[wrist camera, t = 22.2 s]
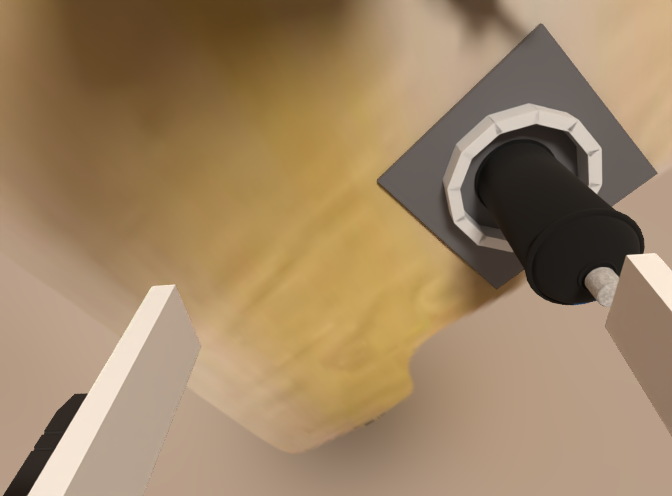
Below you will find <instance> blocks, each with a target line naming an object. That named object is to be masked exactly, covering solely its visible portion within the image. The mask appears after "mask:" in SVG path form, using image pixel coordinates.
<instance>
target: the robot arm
mask: <svg viewBox="0 0 672 496" xmlns="http://www.w3.org/2000/svg"><path fill="white" fill-rule="evenodd" d="M605 327H606V329H607V331H608V332H609V334H610V336H611V337H612V339H613V341H614V342H615V344H616V346H617V347H618V349H619V350H620V352H621V354H622V355H623V357H624V359H625V360H626V362H627V364H628V365H629V367H630V368H631V370H632V372H633V373H634V375H635V377H636V378H637V380H638V382H639V383H640V385H641V387H642V388H643V390H644V392H645V393H646V395H647V396H648V398H649V400H650V401H651V403H652V405H653V406H654V408H655V410H656V411H657V413H658V415H659V416H660V418H661V420H662V421H663V423H664V424H665V426H666V428H667V429H668V431H669V433H670V434H671V436H672V271H671V270H670V268H669V267H668V266H667V265H666V264H665V263H664V262H663V261H662V260H661V258H660V257H659V256H658V255H657V254H656V253H651V254H636V255H626V258H625V261H624V264H623V268H622V271H621V274H620V278H619V281H618V284H617V287H616V291H615V294H614V297H613V301H612V304H611V307H610V311H609V314H608V317H607V321H606V324H605ZM200 348H201V344H200V342H199V340H198V337H197V335H196V332H195V330H194V328H193V325H192V323H191V321H190V318H189V316H188V313H187V311H186V309H185V306H184V304H183V301H182V299H181V297H180V294H179V292H178V290H177V287H176V285H161V286H152V287H151V289H150V290H149V292H148V294H147V295H146V297H145V299H144V300H143V302H142V304H141V305H140V307H139V309H138V310H137V312H136V314H135V315H134V317H133V319H132V321H131V322H130V324H129V326H128V327H127V329H126V331H125V332H124V334H123V336H122V337H121V339H120V341H119V342H118V344H117V346H116V347H115V349H114V351H113V353H112V354H111V356H110V358H109V360H108V361H107V363H106V364H105V366H104V368H103V369H102V371H101V373H100V375H99V376H98V378H97V380H96V382H95V383H94V385H93V387H92V388H91V390H90V391H89V393H88V394H74V395H73V396H72V397H71V398H70V399H69V400H68V401H67V402H66V403H65V404H64V405H63V406H62V407H61V408H60V409H59V410H58V411H57V412H56V413H55V415H54V417H53V418H52V420H51V421H50V423H49V424H48V426H47V427H46V429H45V433H44V435H41V437H40V439H39V440H38V442H37V443H36V445H35V446H34V451H31V453H30V454H29V456H28V457H27V459H26V460H25V462H24V464H23V465H22V467H21V468H20V470H19V471H18V473H17V475H16V476H15V478H14V479H13V481H12V482H11V484H10V486H9V487H8V489H7V490H6V492H5V493H4V495H3V496H143V495H144V492H145V489H146V487H147V484H148V481H149V479H150V476H151V474H152V471H153V469H154V466H155V463H156V461H157V458H158V456H159V453H160V451H161V448H162V446H163V443H164V441H165V438H166V436H167V433H168V430H169V427H170V425H171V423H172V420H173V417H174V415H175V412H176V410H177V407H178V405H179V402H180V400H181V397H182V394H183V392H184V389H185V387H186V384H187V382H188V379H189V376H190V374H191V371H192V369H193V366H194V364H195V361H196V359H197V356H198V353H199V351H200Z"/></svg>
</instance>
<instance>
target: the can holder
mask: <svg viewBox="0 0 672 496" xmlns="http://www.w3.org/2000/svg"><path fill="white" fill-rule="evenodd" d="M518 139H530V140H534V141H538V142H540V143H542V144H544V145H545V146H547V147H548V148H549V149H550V150H551V152H552V153H553V154H554V156H555V158H556V159H557V160H558V161H559V162H561V163H562V164H563V165H564V166H565V167H566V168H567V169H569V170H570V171H571V172H572V173H573V174H574V175H575V176H577V177H578V178H579V179H580V180H581V181H582V182H584V183H585V184H586V185H587V186H588V187H589V188H590V189H592V190H593V191H594V192H595V193H596V194H597V195H598V196H600V197H601V198H602V199H603V200H604V201H605V202H607V203H608V204H609V205H610V206H611V207H612V206H613V205H614V204H616V203H617V202H619V201H620V200H621V199H623V198H624V197H626V196H627V195H628V194H630V193H631V192H633V191H634V190H635V189H637V188H638V187H639V186H641V185H642V184H644V183H645V182H646V181H648V180H649V179H651V178H652V177H653V176H655V175H656V174H658V173H657V172H656V170H655V169H654V168H653V167H652V165H651V164H650V163H649V161H648V160H647V159H646V157H645V156H644V155H643V154H642V152H641V151H640V150H639V148H638V147H637V146H636V144H635V143H634V142H633V141H632V139H631V138H630V137H629V135H628V134H627V133H626V131H625V130H624V129H623V128H622V126H621V125H620V124H619V122H618V121H617V120H616V119H615V117H614V116H613V115H612V113H611V112H610V111H609V109H608V108H607V107H606V106H605V104H604V103H603V102H602V100H601V99H600V98H599V96H598V95H597V94H596V93H595V91H594V90H593V89H592V87H591V86H590V85H589V83H588V82H587V81H586V80H585V78H584V77H583V76H582V74H581V73H580V72H579V71H578V69H577V68H576V67H575V65H574V64H573V63H572V61H571V60H570V59H569V58H568V56H567V55H566V54H565V52H564V51H563V50H562V48H561V47H560V46H559V45H558V43H557V42H556V41H555V39H554V38H553V37H552V36H551V34H550V33H549V32H548V30H547V29H546V28H545V26H544V25H543V24H539V25H538V26H537V27H536V28H535V29H534V30H533V31H532V32H531V33H530V34H529V35H528V36H527V37H526V38H524V39H523V40H522V41H521V42H520V43H519V44H518V45H517V46H516V47H515V48H514V49H513V50H512V51H511V52H510V53H509V54H508V55H507V56H506V57H505V58H504V59H503V60H501V61H500V62H499V63H498V64H497V65H496V66H495V67H494V68H493V69H492V70H491V71H490V72H489V73H488V74H487V75H486V76H485V77H484V78H483V79H482V80H481V81H480V82H479V83H477V84H476V85H475V86H474V87H473V88H472V89H471V90H470V91H469V92H468V93H467V94H466V95H465V96H464V97H463V98H462V99H461V100H460V101H459V102H458V103H457V104H456V105H454V106H453V107H452V108H451V109H450V110H449V111H448V112H447V113H446V114H445V115H444V116H443V117H442V118H441V119H440V120H439V121H438V122H437V123H436V124H435V125H434V126H433V127H432V128H430V129H429V130H428V131H427V132H426V133H425V134H424V135H423V136H422V137H421V138H420V139H419V140H418V141H417V142H416V143H415V144H414V145H413V146H412V147H411V148H410V149H409V150H407V151H406V152H405V153H404V154H403V155H402V156H401V157H400V158H399V159H398V160H397V161H396V162H395V163H394V164H393V165H392V166H391V167H390V168H389V169H388V170H387V171H386V172H385V173H383V174H382V175H381V176H380V177H379V178H378V179H377V181H378V182H379V183H380V184H381V185H382V186H383V187H384V188H385V189H386V190H387V191H389V192H390V193H391V194H392V195H393V196H394V197H395V198H396V199H397V200H398V201H400V202H401V203H402V204H403V205H404V206H405V207H406V208H407V209H408V210H409V211H411V212H412V213H413V214H414V215H415V216H416V217H417V218H418V219H419V220H421V221H422V222H423V223H424V224H425V225H426V226H427V227H428V228H429V229H430V230H432V231H433V232H434V233H435V234H436V235H437V236H438V237H439V238H440V239H441V240H443V241H444V242H445V243H446V244H447V245H448V246H449V247H450V248H451V249H452V250H454V251H455V252H456V253H457V254H458V255H459V256H460V257H461V258H462V259H463V260H465V261H466V262H467V263H468V264H469V265H470V266H471V267H472V268H473V269H475V270H476V271H477V272H478V273H479V274H480V275H481V276H482V277H483V278H484V279H486V280H487V281H488V282H489V283H490V284H491V285H492V286H493V287H494V288H495V289H498V288H499V287H501V286H502V285H503V284H505V283H506V282H508V281H509V280H510V279H512V278H513V277H514V276H516V275H517V274H519V273H520V272H521V271H523V270H524V268H523V266H522V265H521V263H520V261H519V260H518V258H517V256H516V255H515V253H514V252H513V250H512V248H511V247H510V245H509V243H508V242H507V240H506V238H505V237H504V235H503V233H502V232H501V230H500V228H499V227H498V225H497V223H496V222H495V220H494V218H493V217H492V215H491V214H490V212H489V210H488V209H487V208H486V207H485V206H484V205H483V204H482V203H481V202H480V200H479V199H478V197H477V194H476V190H475V178H476V173H477V171H478V168H479V166H480V164H481V163H482V161H483V159H484V158H485V157H486V156H487V155H488V154H489V153H490V152H491V151H493V150H494V149H495V148H496V147H498V146H500V145H502V144H504V143H506V142H509V141H512V140H518Z"/></svg>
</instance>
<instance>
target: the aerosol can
mask: <svg viewBox="0 0 672 496" xmlns="http://www.w3.org/2000/svg"><path fill="white" fill-rule="evenodd" d="M475 190H476V194H477V197H478V199H479V200H480V202H481V203H482V204H483V205H484V206H485V207H486V208H487V209H488V210H489V212H490V214H491V215H492V217H493V218H494V220H495V222H496V223H497V225H498V227H499V228H500V230H501V232H502V233H503V235H504V237H505V238H506V240H507V242H508V243H509V245H510V247H511V248H512V250H513V252H514V253H515V255H516V256H517V258H518V260H519V261H520V263H521V265H522V266H523V268H524V270H525V273H526V277H527V281H528V283H529V284H530V287H531V288H532V289H533V290H534V291H535V293H536V294H538V295H539V296H541V297H542V298H543V299H545V300H548V301H550V302H552V303H557V304H562V305H579V304H585V303H589V302H593V301H598V302H599V304H600V305H602V306H605V307H611V304H612V301H613V297H614V294H615V291H616V287H617V284H618V281H619V278H620V274H621V271H622V268H623V264H624V261H625V258H626V255H636V254H643V252H644V238H643V235H642V232H641V229H640V228H639V226H638V225H637V224H636V222H635V221H634V220H632V219H631V218H630V217H629V216H627V215H625V214H622V213H621V212H618V211H616V210H615V209H613V208H612V207H611V206H610V205H609V204H608V203H607V202H605V201H604V200H603V199H602V198H601V197H600V196H598V195H597V194H596V193H595V192H594V191H593V190H592V189H590V188H589V187H588V186H587V185H586V184H585V183H584V182H582V181H581V180H580V179H579V178H578V177H577V176H575V175H574V174H573V173H572V172H571V171H570V170H569V169H567V168H566V167H565V166H564V165H563V164H562V163H561V162H559V161H558V160H557V159H556V158H555V156H554V154H553V153H552V152H551V150H550V149H549V148H548V147H547V146H545V145H544V144H542V143H540V142H538V141H534V140H530V139H518V140H512V141H509V142H506V143H504V144H502V145H500V146H498V147H496V148H495V149H494V150H493V151H491V152H490V153H489V154H488V155H487V156H486V157H485V158H484V159H483V161H482V163H481V164H480V166H479V168H478V171H477V173H476V178H475Z"/></svg>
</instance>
